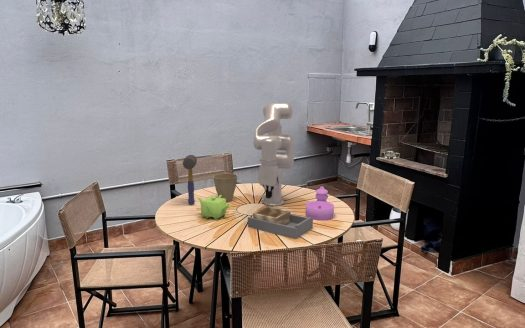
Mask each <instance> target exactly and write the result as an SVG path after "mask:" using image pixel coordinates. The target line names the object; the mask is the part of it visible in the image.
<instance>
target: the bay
mask: <svg viewBox="0 0 525 328" xmlns="http://www.w3.org/2000/svg"><path fill="white" fill-rule="evenodd" d="M313 224H314V220H313V219H312V217H309V218H308V217H306V216H302V215H296V214H293V213H291V218H290V222H289V223H288V224H286V225H282V224H278V223H273V222H269V221H265V220H261V219H256V218H253V216H252V217H251V216H247V227H248V228H252V229H255V230H258V231H263V232H266V233H271V234H273V235H274V234H276V235H279V236H282V237H287V238H290V239H295V240H297V239H298V238H300V237H302V236H303V235H304V234H306V233H307V232H309V231H310V230H312V229H313V228H314V225H313Z"/></svg>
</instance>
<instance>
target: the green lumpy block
mask: <svg viewBox="0 0 525 328" xmlns="http://www.w3.org/2000/svg"><path fill="white" fill-rule="evenodd" d="M221 196H222V195H220V196H219V197H218V196H217V197H216V196H207V197H206V198H204V199H202V198H201V197H197V199H198V201H199V202H200V211H201V213H200V216H201V217H205V219H210V218H213V219H214V220H219V218H221V217H223V216H224V215H225V214H227V209H229V208H230V207H231V205H230V204H229V203H227V202H226V199H224V198H221Z"/></svg>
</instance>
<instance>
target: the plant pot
mask: <svg viewBox="0 0 525 328" xmlns="http://www.w3.org/2000/svg"><path fill="white" fill-rule="evenodd" d="M212 177H213V183H214V187H215V191H216V194H217V198H218V197H219V196H220V195H222V196H221V198H224V199H226V203H229V202H232V200H233V197H234V194H235V191H236V187H237V182H238V174H235V173H231V172H229V173H228V172H223V173H222V172H221V173H217V174H214V175H213V176H212Z"/></svg>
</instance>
